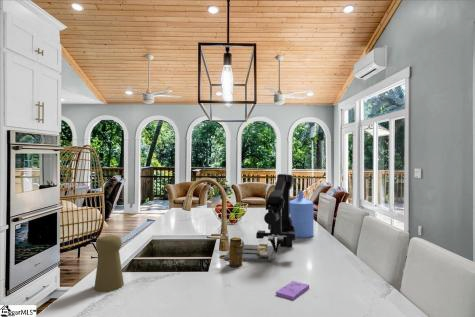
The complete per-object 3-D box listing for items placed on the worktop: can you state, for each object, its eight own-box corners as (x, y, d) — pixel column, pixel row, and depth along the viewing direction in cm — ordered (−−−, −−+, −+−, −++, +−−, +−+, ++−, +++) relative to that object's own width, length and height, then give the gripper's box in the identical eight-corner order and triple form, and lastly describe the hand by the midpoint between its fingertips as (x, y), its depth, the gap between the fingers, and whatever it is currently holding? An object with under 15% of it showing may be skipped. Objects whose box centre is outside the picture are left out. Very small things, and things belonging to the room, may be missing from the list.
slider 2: (266, 252, 154) (266, 246, 154) (265, 254, 151) (265, 248, 151) (258, 252, 155) (258, 246, 155) (257, 253, 152) (257, 247, 152)
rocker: (243, 241, 171) (243, 239, 170) (240, 248, 163) (240, 246, 163) (236, 240, 171) (236, 238, 171) (233, 247, 164) (233, 245, 163)
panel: (274, 248, 167) (274, 241, 168) (270, 262, 145) (270, 253, 145) (234, 246, 172) (234, 239, 172) (224, 259, 149) (224, 251, 149)
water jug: (319, 235, 195) (318, 191, 196) (301, 239, 187) (300, 192, 187) (300, 231, 208) (300, 189, 209) (283, 234, 200) (283, 190, 200)
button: (268, 255, 150) (268, 250, 150) (267, 257, 146) (267, 252, 146) (259, 254, 150) (259, 249, 151) (258, 257, 147) (258, 252, 147)
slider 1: (267, 248, 161) (267, 242, 161) (267, 250, 158) (266, 244, 158) (259, 248, 162) (259, 242, 162) (259, 249, 159) (259, 244, 159)
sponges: (309, 289, 116) (309, 284, 116) (293, 301, 106) (293, 296, 106) (292, 285, 120) (292, 280, 120) (275, 296, 110) (275, 291, 110)
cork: (105, 294, 112) (105, 241, 112) (88, 288, 117) (87, 237, 117) (129, 284, 121) (129, 235, 121) (112, 279, 126) (112, 232, 126)
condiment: (240, 261, 147) (240, 236, 147) (247, 267, 139) (246, 240, 139) (225, 263, 144) (225, 237, 144) (231, 269, 136) (231, 242, 136)
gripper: (295, 218, 158) (295, 248, 158) (258, 217, 162) (259, 247, 162) (294, 222, 147) (295, 255, 147) (255, 221, 151) (256, 253, 151)
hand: (275, 252), depth 152 cm, fingers closed
